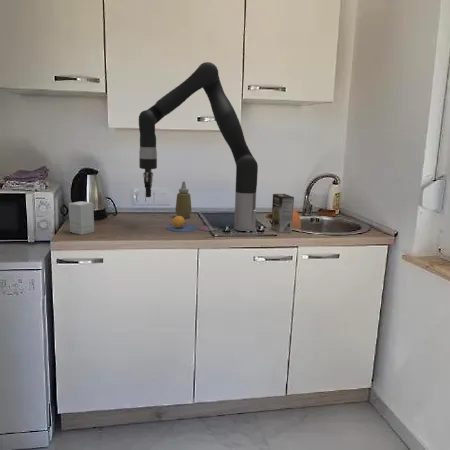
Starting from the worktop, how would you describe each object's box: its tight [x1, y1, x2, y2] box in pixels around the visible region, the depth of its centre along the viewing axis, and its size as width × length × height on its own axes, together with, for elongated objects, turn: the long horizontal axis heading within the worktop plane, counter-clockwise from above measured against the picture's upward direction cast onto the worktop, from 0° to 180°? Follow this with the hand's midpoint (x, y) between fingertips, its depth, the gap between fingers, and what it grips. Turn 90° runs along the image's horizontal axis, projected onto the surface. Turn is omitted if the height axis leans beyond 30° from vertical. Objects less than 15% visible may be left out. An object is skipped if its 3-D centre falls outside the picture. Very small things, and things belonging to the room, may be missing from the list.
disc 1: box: [166, 224, 199, 233], centre depth 213 cm, size 14×14×1 cm
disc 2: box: [197, 225, 211, 232], centre depth 214 cm, size 10×10×1 cm
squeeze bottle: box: [175, 181, 192, 219], centre depth 235 cm, size 8×8×18 cm
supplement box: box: [68, 200, 95, 235], centre depth 200 cm, size 7×7×13 cm
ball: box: [172, 215, 186, 228], centre depth 213 cm, size 6×6×6 cm
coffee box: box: [270, 193, 295, 233], centre depth 214 cm, size 9×6×16 cm
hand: (148, 196), depth 209 cm, fingers closed
